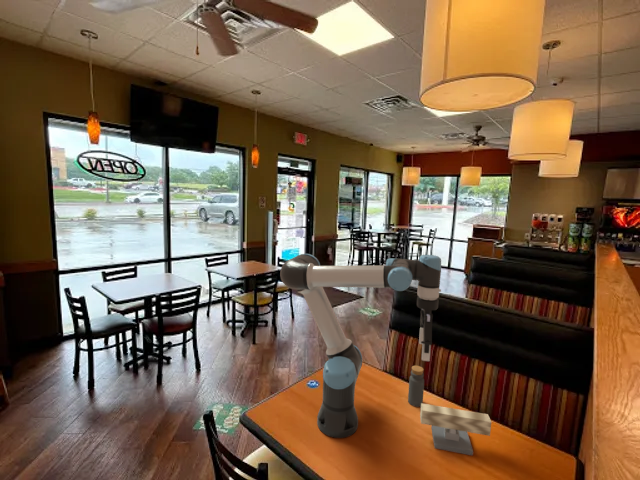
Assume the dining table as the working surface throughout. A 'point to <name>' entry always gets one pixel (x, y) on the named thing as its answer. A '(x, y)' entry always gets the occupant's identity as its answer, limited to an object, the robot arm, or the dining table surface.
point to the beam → (455, 419)
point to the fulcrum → (451, 440)
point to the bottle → (416, 386)
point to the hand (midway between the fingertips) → (423, 351)
